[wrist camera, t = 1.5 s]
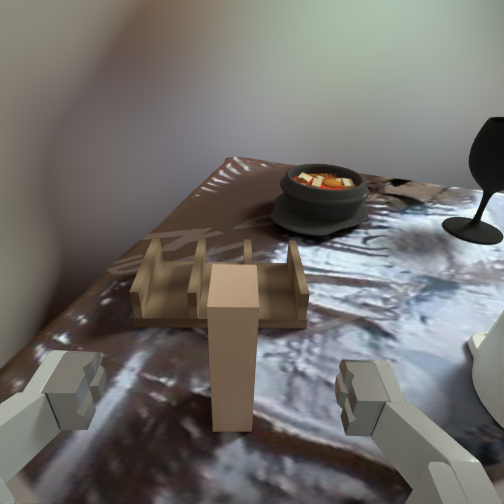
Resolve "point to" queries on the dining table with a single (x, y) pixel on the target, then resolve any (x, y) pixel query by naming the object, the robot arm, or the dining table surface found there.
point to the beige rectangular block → (232, 345)
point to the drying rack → (197, 290)
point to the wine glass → (483, 183)
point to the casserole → (320, 199)
